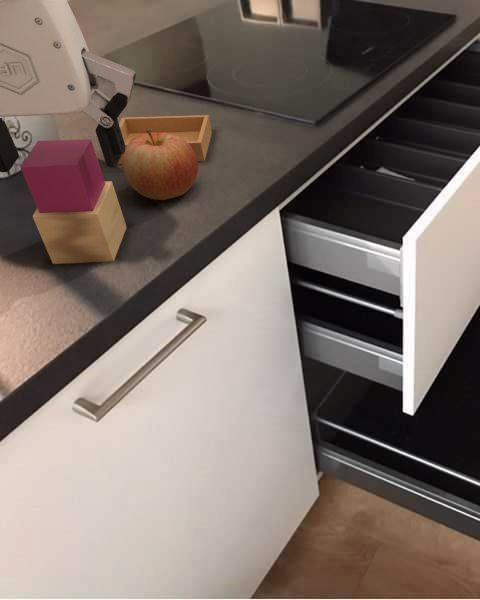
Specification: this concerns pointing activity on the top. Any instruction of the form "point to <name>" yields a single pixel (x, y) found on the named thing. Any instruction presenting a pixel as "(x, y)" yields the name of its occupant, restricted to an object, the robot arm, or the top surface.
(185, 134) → the tray
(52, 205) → the pink block
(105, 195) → the birch block
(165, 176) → the apple
